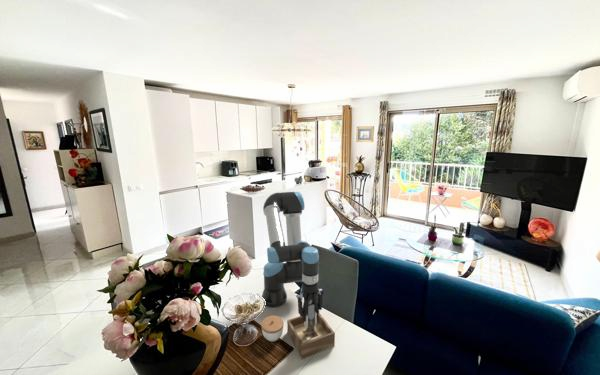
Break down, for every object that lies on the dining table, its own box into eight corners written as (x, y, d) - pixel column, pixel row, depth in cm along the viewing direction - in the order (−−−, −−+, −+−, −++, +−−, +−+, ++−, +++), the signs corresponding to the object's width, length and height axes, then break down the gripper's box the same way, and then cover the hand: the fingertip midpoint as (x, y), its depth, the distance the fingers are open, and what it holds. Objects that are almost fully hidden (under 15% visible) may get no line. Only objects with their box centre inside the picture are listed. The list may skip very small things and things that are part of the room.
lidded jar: (280, 347, 116) (280, 330, 115) (258, 343, 119) (257, 326, 117) (286, 330, 127) (285, 314, 125) (266, 327, 129) (265, 311, 127)
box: (287, 332, 125) (287, 320, 124) (317, 321, 132) (317, 310, 131) (301, 359, 110) (301, 345, 109) (334, 345, 117) (334, 333, 116)
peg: (304, 327, 121) (304, 302, 118) (312, 325, 122) (312, 299, 120) (308, 333, 117) (308, 307, 114) (315, 330, 119) (316, 304, 116)
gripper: (296, 289, 108) (297, 336, 113) (330, 280, 115) (329, 324, 119) (290, 281, 115) (290, 325, 119) (322, 272, 121) (321, 314, 126)
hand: (310, 324), depth 119 cm, fingers closed on peg, 4 cm apart
